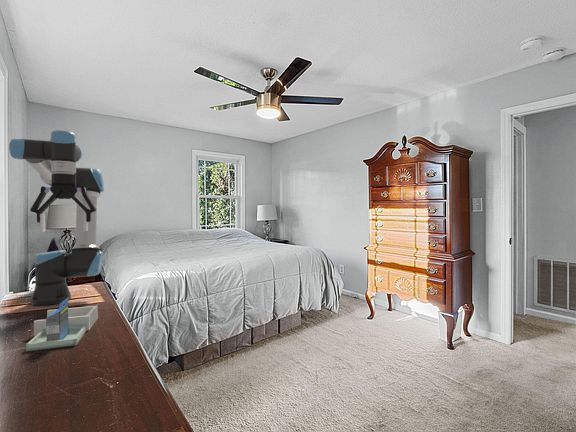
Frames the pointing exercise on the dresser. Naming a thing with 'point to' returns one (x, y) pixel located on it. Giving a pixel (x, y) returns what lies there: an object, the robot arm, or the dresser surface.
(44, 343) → the tray
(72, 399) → the dresser surface
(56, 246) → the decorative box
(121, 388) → the dresser surface
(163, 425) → the dresser surface
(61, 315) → the blue cardboard package
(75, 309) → the bay
